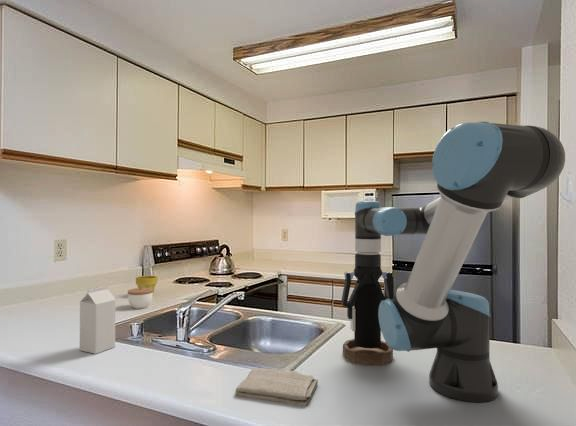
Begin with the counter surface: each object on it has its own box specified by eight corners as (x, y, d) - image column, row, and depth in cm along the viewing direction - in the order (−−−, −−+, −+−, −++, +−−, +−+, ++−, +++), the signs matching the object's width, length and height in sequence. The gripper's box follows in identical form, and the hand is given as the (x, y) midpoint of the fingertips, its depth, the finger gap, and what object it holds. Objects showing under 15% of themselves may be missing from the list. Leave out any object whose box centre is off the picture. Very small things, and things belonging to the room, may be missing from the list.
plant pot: (159, 293, 201) (159, 275, 201) (154, 298, 190) (154, 278, 190) (139, 294, 200) (139, 275, 200) (132, 298, 190) (132, 278, 190)
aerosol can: (365, 350, 108) (365, 279, 108) (347, 341, 115) (348, 275, 115) (387, 345, 111) (387, 277, 111) (369, 337, 119) (369, 273, 119)
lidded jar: (146, 303, 179) (146, 283, 179) (157, 307, 172) (157, 286, 172) (123, 307, 172) (123, 286, 172) (133, 311, 164) (134, 289, 164)
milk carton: (115, 347, 120) (115, 286, 120) (95, 354, 113) (95, 290, 113) (99, 343, 123) (100, 284, 123) (79, 350, 116) (79, 288, 116)
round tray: (399, 364, 107) (399, 354, 107) (350, 366, 105) (350, 355, 105) (382, 347, 121) (382, 337, 121) (339, 348, 119) (339, 338, 119)
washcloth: (309, 408, 83) (309, 394, 83) (233, 398, 88) (233, 384, 88) (319, 385, 95) (319, 373, 95) (251, 377, 99) (251, 365, 99)
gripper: (397, 251, 118) (397, 325, 118) (330, 251, 116) (330, 326, 116) (407, 254, 110) (406, 332, 110) (335, 254, 109) (335, 334, 108)
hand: (367, 329), depth 113 cm, fingers closed on aerosol can, 8 cm apart
